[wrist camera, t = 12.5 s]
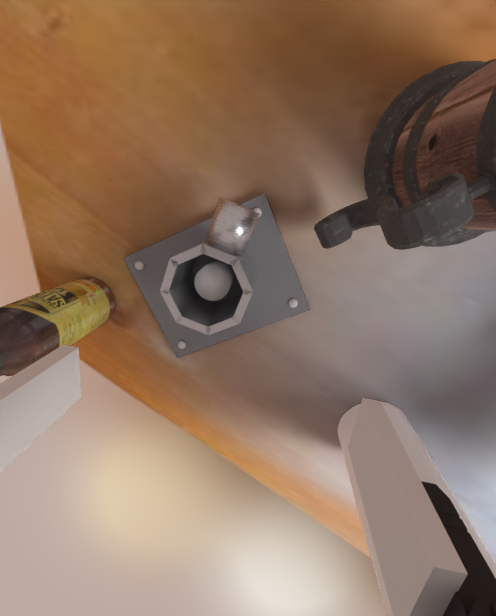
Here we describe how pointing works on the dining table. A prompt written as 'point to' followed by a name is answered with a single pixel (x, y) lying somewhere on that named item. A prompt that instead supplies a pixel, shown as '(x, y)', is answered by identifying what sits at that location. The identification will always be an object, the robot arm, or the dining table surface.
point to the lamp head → (227, 248)
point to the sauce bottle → (51, 321)
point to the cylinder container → (424, 470)
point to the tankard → (429, 163)
